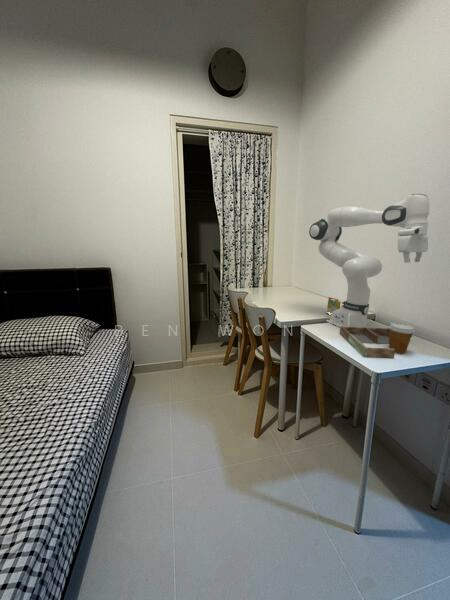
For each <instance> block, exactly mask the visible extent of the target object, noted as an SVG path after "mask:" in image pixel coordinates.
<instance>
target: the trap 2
mask: <svg viewBox="0 0 450 600" xmlns="http://www.w3.org/2000/svg"><path fill="white" fill-rule="evenodd" d="M376 345H389V337H388V336H381V335H378V341H377V344H376Z"/></svg>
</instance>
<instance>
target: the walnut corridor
mask: <svg viewBox="0 0 450 600" xmlns="http://www.w3.org/2000/svg"><path fill="white" fill-rule="evenodd" d="M339 334H340V336H341V337H343V339H345V341H347V342H348V344H349V345H351V347H353V349H355V350H356V352H358V353H359V355H361V356H362V357H363V358H373V359H375V358H376V359H377V358H378V359H395V355H396V353H395V349H393V348H389V347H388V348H387V347H367V346H366V345H365V344H364V343H361V342H360V341H359V340H358V339H357V338H355V337H354V336H353V335H352V334H357V335H365V336H366V337H368V338H369V339H370V340H371V341H373V342H374V343H375V345H378V344H377V341H378V335H381V336H388V337H389V334H390V329H389V327H388V328H386V327H370V326H369V327H368V326H367V327H345V326H340V327H339Z"/></svg>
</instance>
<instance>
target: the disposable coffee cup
mask: <svg viewBox="0 0 450 600" xmlns="http://www.w3.org/2000/svg"><path fill="white" fill-rule="evenodd" d="M388 328H389V329H390V334H389V344H388V348H393V349H395V354H400V355H404V354H405V353H407V349H408V347H409V344H410V342H411V339H412V337H413V334H414V333H415V327H414V326H412V325H409V324H407V323H402V322H392V323H390V325H388Z"/></svg>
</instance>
